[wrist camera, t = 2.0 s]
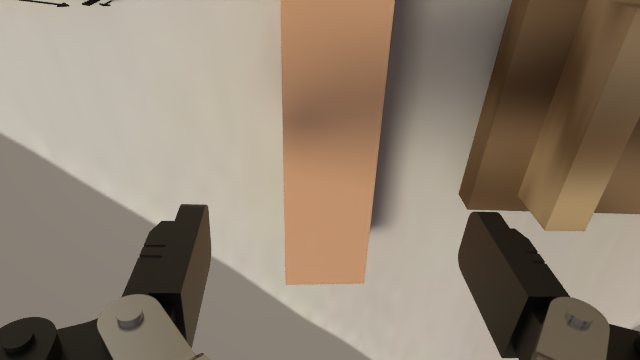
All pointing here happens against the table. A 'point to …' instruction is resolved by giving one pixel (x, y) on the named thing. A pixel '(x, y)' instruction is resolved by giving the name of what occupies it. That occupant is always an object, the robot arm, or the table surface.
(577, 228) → the cleated wooden board
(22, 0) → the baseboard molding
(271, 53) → the table surface
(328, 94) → the clay bar
